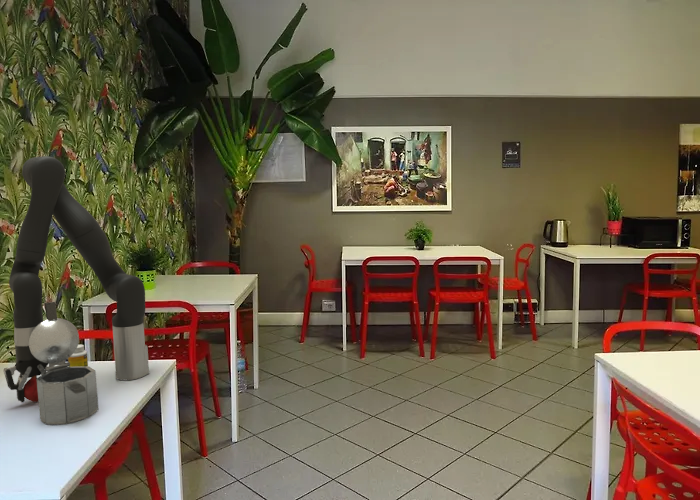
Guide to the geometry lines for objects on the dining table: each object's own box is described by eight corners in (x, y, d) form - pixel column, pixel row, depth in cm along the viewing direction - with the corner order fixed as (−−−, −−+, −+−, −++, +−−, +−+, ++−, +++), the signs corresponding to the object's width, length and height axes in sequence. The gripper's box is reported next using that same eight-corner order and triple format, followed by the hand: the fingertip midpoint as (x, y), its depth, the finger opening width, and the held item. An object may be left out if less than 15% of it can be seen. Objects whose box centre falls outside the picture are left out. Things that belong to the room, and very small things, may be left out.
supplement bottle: (87, 378, 169) (85, 347, 168) (68, 380, 167) (65, 349, 166) (89, 372, 174) (87, 342, 173) (71, 375, 172) (68, 344, 171)
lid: (82, 363, 150) (79, 362, 151) (74, 298, 149) (72, 298, 151) (33, 374, 141) (31, 373, 142) (25, 306, 140) (22, 306, 142)
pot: (85, 398, 152) (82, 361, 151) (110, 416, 140) (107, 376, 138) (32, 413, 143) (29, 374, 141) (54, 434, 130) (50, 391, 129)
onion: (36, 406, 147) (33, 379, 146) (18, 405, 148) (16, 378, 147) (52, 398, 152) (49, 372, 151) (35, 397, 153) (32, 371, 153)
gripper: (54, 333, 156) (58, 388, 158) (-3, 344, 146) (2, 402, 147) (62, 338, 150) (67, 394, 152) (4, 349, 140) (9, 409, 142)
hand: (35, 398), depth 150 cm, fingers closed on onion, 6 cm apart
